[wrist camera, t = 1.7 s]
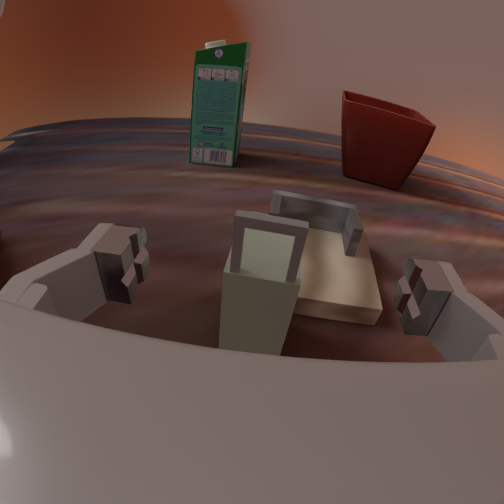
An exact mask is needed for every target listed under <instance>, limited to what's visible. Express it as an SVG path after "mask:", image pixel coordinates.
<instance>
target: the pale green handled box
mask: <svg viewBox="0 0 504 504" xmlns="http://www.w3.org/2000/svg"><path fill="white" fill-rule="evenodd" d="M308 229H309V222H306V221H301V220H295V219H290V218H284V217H278V216H272V215H267V214H261V213H255V212H249V211H243V210H237V211H236V213H235V218H234V230H233V241H232V247H231V250H230V253H229V256H228V259H227V262H226V265H225V268H224V271H223V283H222V299H221V315H220V331H219V349H225V350H233V351H240V352H249V353H257V354H266V355H276V356H280V353H281V350H282V347H283V344H284V341H285V337H286V334H287V331H288V327H289V324H290V321H291V317H292V314H293V311H294V307H295V304H296V300H297V297H298V293H299V290H300V286H301V264H302V253H303V249H304V245H305V241H306V237H307V233H308Z"/></svg>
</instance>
